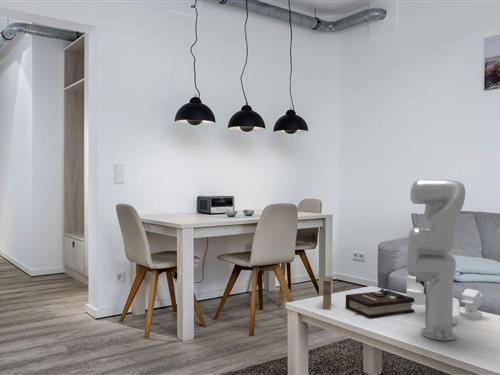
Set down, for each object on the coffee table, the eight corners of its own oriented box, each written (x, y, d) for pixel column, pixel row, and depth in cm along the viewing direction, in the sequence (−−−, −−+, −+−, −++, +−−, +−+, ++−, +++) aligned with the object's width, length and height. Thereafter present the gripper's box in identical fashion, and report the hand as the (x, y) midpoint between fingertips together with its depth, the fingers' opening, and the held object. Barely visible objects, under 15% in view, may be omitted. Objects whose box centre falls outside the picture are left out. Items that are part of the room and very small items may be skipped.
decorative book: (340, 292, 205) (390, 287, 217) (339, 309, 205) (390, 303, 217) (366, 303, 187) (420, 296, 200) (366, 320, 187) (420, 313, 200)
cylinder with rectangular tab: (403, 301, 218) (403, 277, 218) (411, 298, 224) (412, 275, 224) (420, 305, 211) (420, 280, 211) (429, 302, 217) (429, 278, 217)
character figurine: (485, 317, 193) (486, 290, 193) (474, 321, 187) (475, 293, 187) (466, 313, 200) (466, 286, 200) (454, 316, 194) (455, 289, 194)
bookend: (330, 309, 202) (330, 281, 202) (323, 308, 203) (323, 280, 203) (331, 303, 213) (332, 276, 213) (324, 302, 214) (325, 276, 214)
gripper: (444, 254, 200) (444, 295, 200) (410, 253, 203) (409, 292, 204) (448, 258, 192) (447, 299, 193) (411, 256, 196) (411, 297, 196)
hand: (427, 296), depth 198 cm, fingers closed
